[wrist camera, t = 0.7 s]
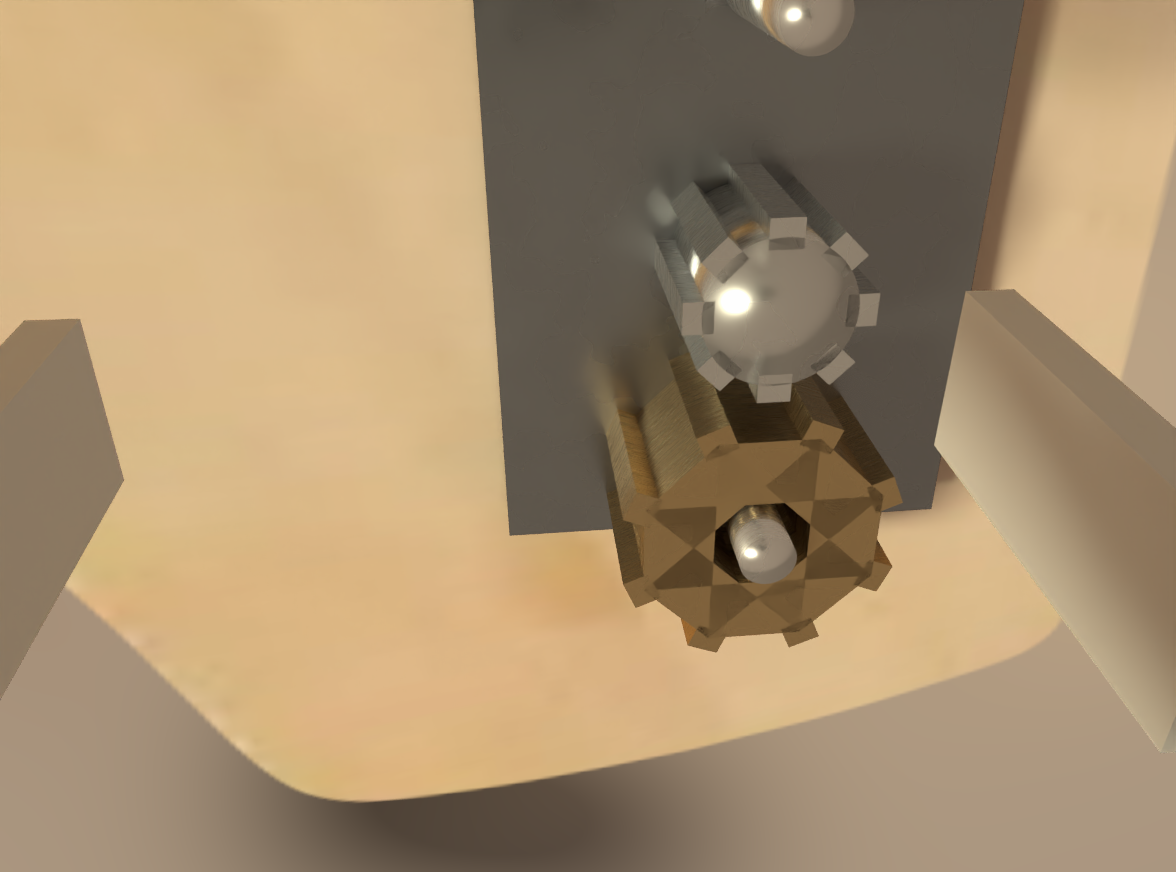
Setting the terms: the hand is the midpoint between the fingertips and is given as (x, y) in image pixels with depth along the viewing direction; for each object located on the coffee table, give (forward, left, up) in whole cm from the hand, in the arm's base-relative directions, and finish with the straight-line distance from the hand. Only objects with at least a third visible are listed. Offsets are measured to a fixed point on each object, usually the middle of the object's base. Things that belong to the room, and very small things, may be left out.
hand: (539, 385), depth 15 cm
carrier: (+6, +8, -23) cm, 24 cm away
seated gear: (+14, +8, -21) cm, 27 cm away
